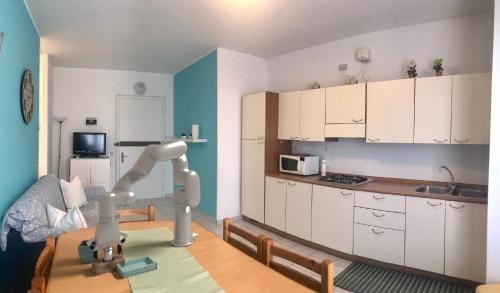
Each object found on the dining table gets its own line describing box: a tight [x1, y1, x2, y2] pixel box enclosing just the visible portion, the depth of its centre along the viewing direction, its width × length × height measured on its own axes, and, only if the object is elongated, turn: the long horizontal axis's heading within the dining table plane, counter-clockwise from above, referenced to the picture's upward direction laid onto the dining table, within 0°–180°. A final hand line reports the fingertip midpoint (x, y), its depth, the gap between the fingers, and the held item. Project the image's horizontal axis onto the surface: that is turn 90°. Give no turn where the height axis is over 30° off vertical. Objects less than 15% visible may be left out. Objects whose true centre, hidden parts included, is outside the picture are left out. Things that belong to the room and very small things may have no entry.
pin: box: [102, 244, 115, 263], centre depth 133 cm, size 5×5×10 cm
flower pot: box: [77, 239, 102, 264], centre depth 141 cm, size 9×9×9 cm
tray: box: [116, 255, 158, 279], centre depth 133 cm, size 15×11×3 cm
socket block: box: [91, 253, 126, 277], centre depth 133 cm, size 12×9×4 cm
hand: (107, 255), depth 133 cm, fingers open, 9 cm apart
